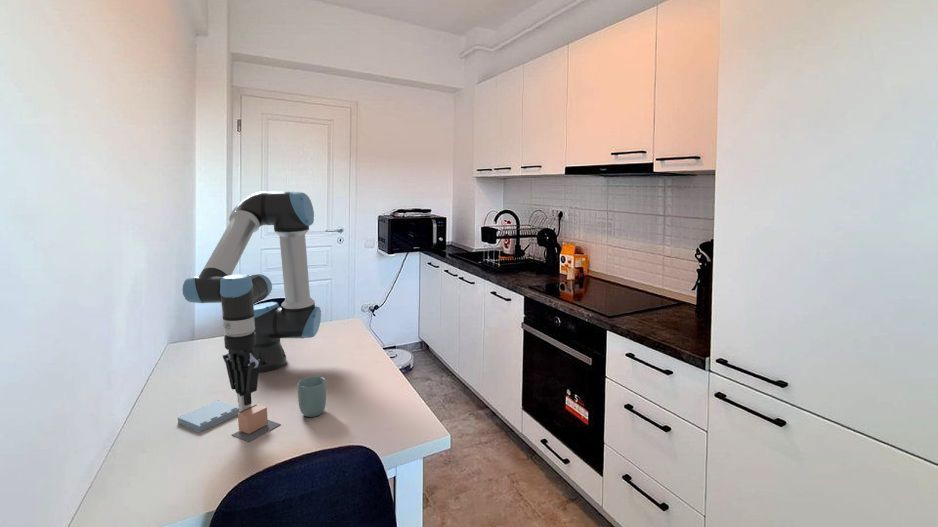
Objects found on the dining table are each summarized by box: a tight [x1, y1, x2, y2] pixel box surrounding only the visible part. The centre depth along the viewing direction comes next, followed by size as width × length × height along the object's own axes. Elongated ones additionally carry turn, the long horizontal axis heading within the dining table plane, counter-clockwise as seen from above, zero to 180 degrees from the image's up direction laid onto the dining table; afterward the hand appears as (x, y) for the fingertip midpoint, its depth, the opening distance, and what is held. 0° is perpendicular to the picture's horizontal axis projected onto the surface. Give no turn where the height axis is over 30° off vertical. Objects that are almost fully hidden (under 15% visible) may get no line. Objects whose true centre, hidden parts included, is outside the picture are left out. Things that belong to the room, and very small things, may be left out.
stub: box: [237, 403, 269, 434], centre depth 123 cm, size 4×6×5 cm, turn 153°
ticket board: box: [177, 400, 239, 433], centre depth 129 cm, size 10×12×2 cm
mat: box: [231, 419, 281, 443], centre depth 123 cm, size 7×10×1 cm
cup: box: [296, 375, 327, 418], centre depth 131 cm, size 8×8×10 cm
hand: (245, 414), depth 124 cm, fingers closed
